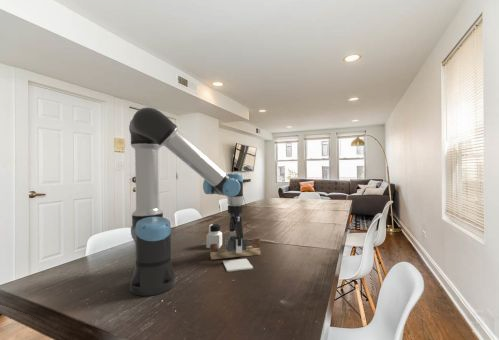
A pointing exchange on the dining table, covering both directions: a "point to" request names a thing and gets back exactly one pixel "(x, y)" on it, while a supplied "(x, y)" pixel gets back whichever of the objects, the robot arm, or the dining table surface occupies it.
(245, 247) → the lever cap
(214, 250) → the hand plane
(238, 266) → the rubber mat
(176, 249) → the dining table surface
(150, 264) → the robot arm
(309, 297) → the dining table surface
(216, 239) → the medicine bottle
